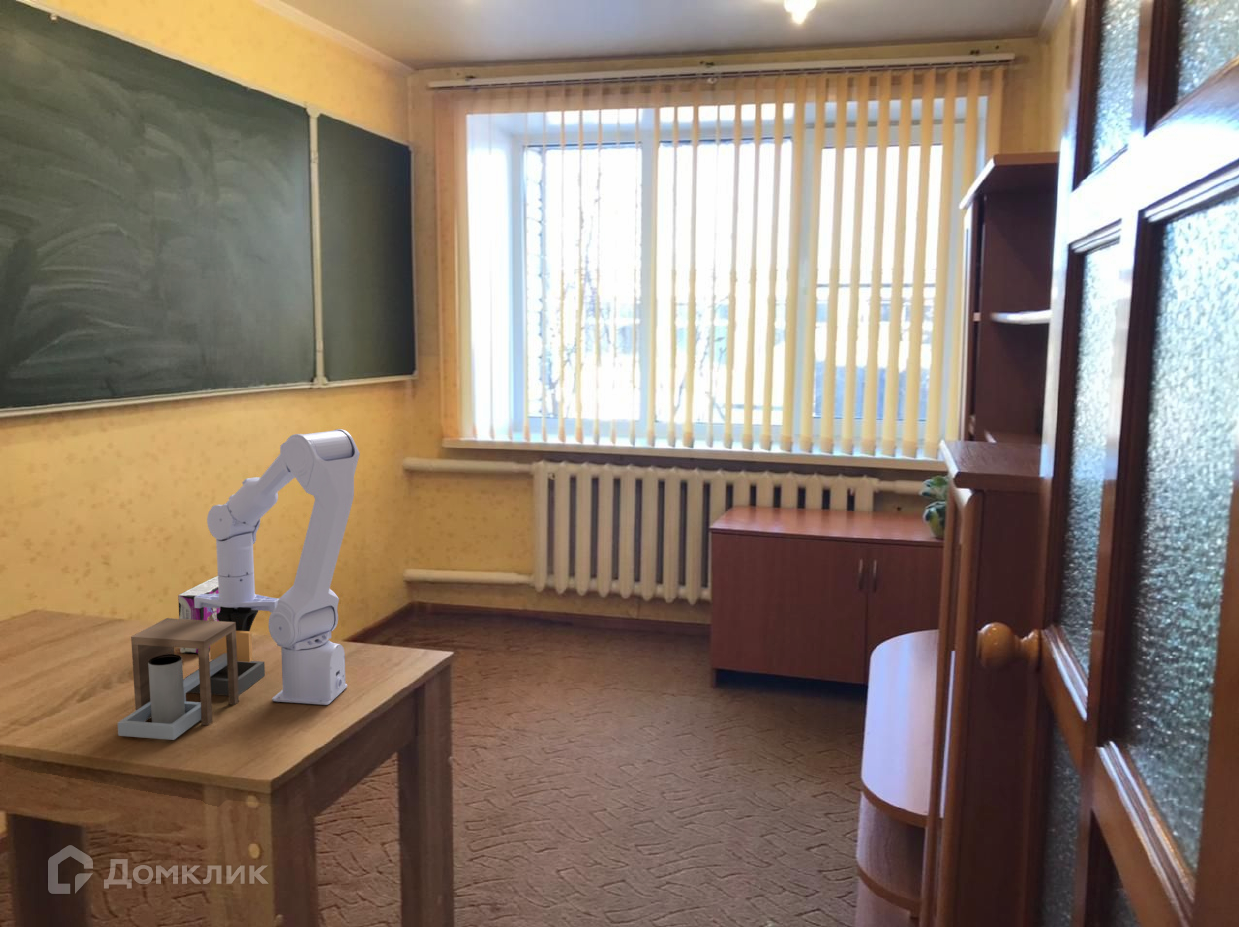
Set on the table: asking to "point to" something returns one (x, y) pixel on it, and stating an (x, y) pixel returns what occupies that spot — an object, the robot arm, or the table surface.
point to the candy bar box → (192, 613)
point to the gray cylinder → (166, 688)
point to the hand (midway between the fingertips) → (239, 649)
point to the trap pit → (246, 678)
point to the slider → (218, 653)
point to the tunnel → (184, 636)
